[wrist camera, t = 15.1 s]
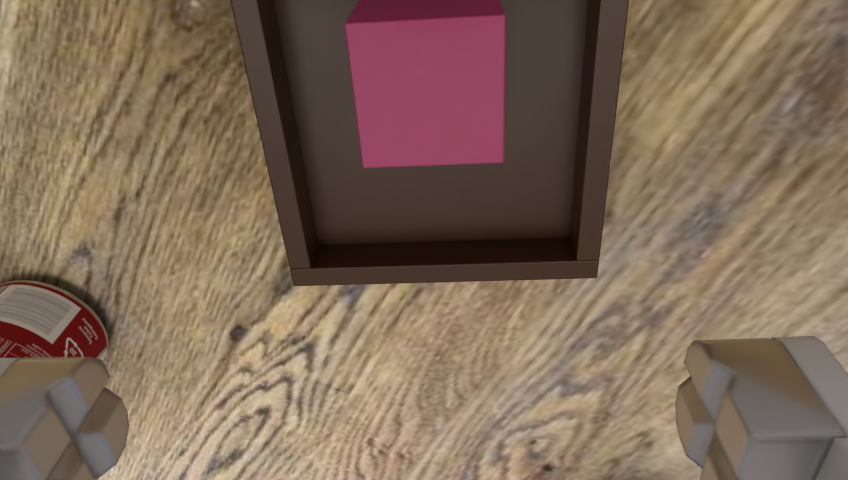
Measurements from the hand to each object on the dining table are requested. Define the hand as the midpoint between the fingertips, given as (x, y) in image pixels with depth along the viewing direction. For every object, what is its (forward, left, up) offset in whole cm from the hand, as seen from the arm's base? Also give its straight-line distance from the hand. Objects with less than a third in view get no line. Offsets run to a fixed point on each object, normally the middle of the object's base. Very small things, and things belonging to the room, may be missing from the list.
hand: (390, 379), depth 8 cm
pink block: (+1, 0, -18) cm, 18 cm away
